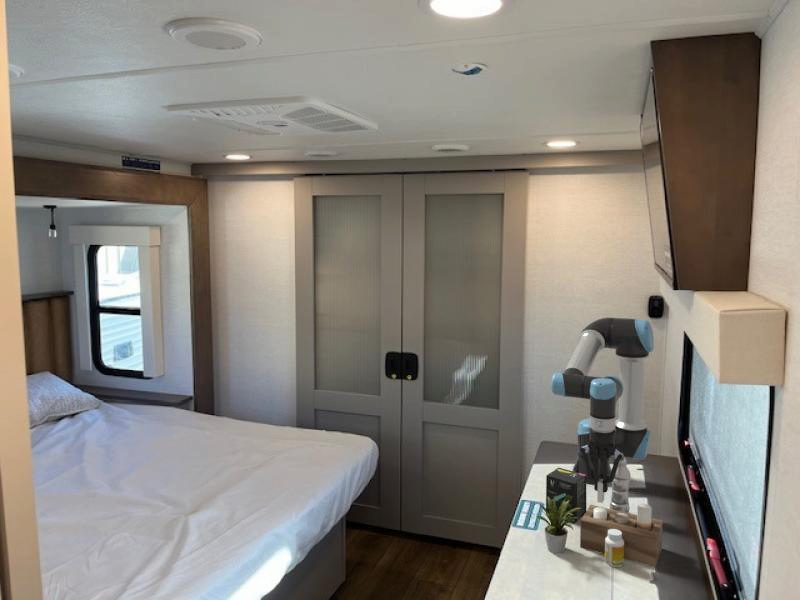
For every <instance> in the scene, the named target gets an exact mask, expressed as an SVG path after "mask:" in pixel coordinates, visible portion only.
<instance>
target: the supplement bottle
mask: <svg viewBox="0 0 800 600" xmlns="http://www.w3.org/2000/svg"><path fill="white" fill-rule="evenodd" d="M624 561H625V559H624V540H623V539H622V532H621V531H620V530H617V529H609V530H608V536H607V537H606V538H605V554H604V562H605V564H606V565H607V566H609V567H613V568H619V567H622V566H623V565H624Z"/></svg>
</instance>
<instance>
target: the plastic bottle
mask: <svg viewBox="0 0 800 600" xmlns="http://www.w3.org/2000/svg"><path fill="white" fill-rule="evenodd" d="M627 460H628V458H624V457H622V459H621V460H620V461H619V465H618V468H617V471H616V475H615V478H614V480H613V482H611V491H612V492H611V498H610V502H609V509H612V510H617V511H621V512H626V513H630V508H631V507H630V502H629V489H630V488H629V487H630V481H631V475H632V474H631V472H630V470H629V468H628V467H627V466H628V462H627Z"/></svg>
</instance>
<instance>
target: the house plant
mask: <svg viewBox="0 0 800 600" xmlns="http://www.w3.org/2000/svg"><path fill="white" fill-rule="evenodd" d="M568 502H569V500H568V501H566V502H565V499H564V501H563V503H562V504H561V506H560V508H559V510H558V512H557V507H556V504H555V500H554V498H553V503H554V507H553V503H552V502H551V500H550V498H549V497H548V505H549V507H548V508H549V513H550V514H549V513H548V511H547V510H546V506H544V505H543V504H541V503H540V502H539V503H538V504H539V505H540V506H541V508H542V509H543V511H542V510H541V512H543V513H544V515H545V516H546V517H547V519H546V518H545V517H544V516H542V515H536V516H535V518H536V519H538V520H539V519H540V520H542V521H543V522H545V523H547V526H544V536H545V542H546V548H547V551H548V552H550V553H552V554H555V555H559V554H562V553H564V552H565V550H566V544H567V539H568V533H569V532H568V529H567V528H569V529H572V530H573V531H574V527H573V526H572V525H571V523H570V522H573V521H575V520H573V519H574V518H578V517H573V518H572V517H571V516H568V515H569V514H571V513H572V512H575V511H574V510H576V509H580V508H575V509H572V510H570V511H567V512H564V511H565V509H566V508H567V504H568ZM546 514H547V515H546ZM564 514H565V515H564ZM563 515H564V516H563ZM571 515H573V514H571ZM562 516H563V517H562ZM561 517H562V518H561ZM566 518H570V519H568V520H567V519H566ZM565 519H566V521H564V520H565ZM569 523H570V524H569Z"/></svg>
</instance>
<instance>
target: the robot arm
mask: <svg viewBox="0 0 800 600" xmlns="http://www.w3.org/2000/svg"><path fill="white" fill-rule="evenodd" d="M577 339H578V343H577V346H576V348H575V350H574V352H573V353H572V355H571V357H570V359H569V362H568V364H567V365H566V367H565V368H564V371H563V372H555V373H553V375H552V377H551V384H550V387H551V392H552V393H553V395H556V396H562V397H566V398H567V397H568V398H577V399H585V400H589V418H585V419H582V420H581V421H579V423H578V427H577V428H578V429H577V457H576V459H575V461H574V465H573V468H572V471H573V472H577V473H581V474H584V475H587V477H586V484H587V485H588V484H590V485H593V486H594V491H597V495H596V496H597V503H601V504H603V503H604V501H605V493H607V492H608V490H609V483H612V482H613V480H614V478H615V475H616V471H617V468H618V465H619V461H620V460H621V459H622V458H625V459H631V460H637V461H638V460H639V461H643V460H645V459H646V457H647V455H648V452H649V448H650V443H651V440H652V439H651V438H652V431H651V430H650V429H648V425H647V423H646V422H645V421H644V419H643V418H644V417H643V415H644V387H645V386H644V385H645V383H644V380H645V379H644V378H645V377H644V376H645V375H644V374H645V360H646V359H647V358H649V355H650V353H652V352H653V351H654V347H655V345H654V342H655V340H654V339H655V337H654V331H653V327H652V324H651V322H650V321H649V320H645V319H638V318H620V317H603V318H599V319H597V320H594V321H592V322H590V324H588V325H586V326H585V327H584V328H583V329H582V330H581V332H580V334H579V335H578V338H577ZM603 349H612V350H615V356H616V357H617V358H619V376H616V375H612V374H611V375H606V376H604V377H602V376H601V377H600V376H592V375H591V376H590V375H589V372H590V370H592V366H593V364H594V362H595V360H596V359H597V356H598V354H599V352H601V351H603ZM617 402H618V418H617V419H616V407H617V406H616V405H617ZM612 456H614V458H615V459H614V462H613V465H612V467H611V465H610V461H609V460H610V458H611V457H612Z"/></svg>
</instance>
